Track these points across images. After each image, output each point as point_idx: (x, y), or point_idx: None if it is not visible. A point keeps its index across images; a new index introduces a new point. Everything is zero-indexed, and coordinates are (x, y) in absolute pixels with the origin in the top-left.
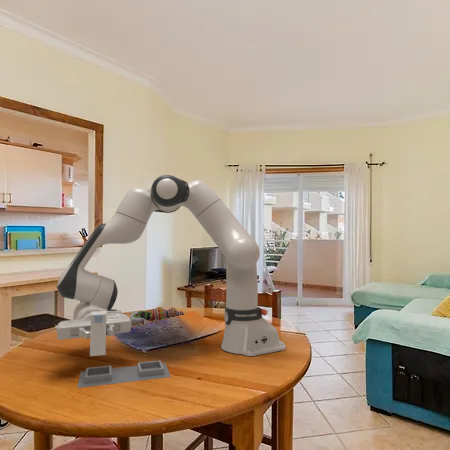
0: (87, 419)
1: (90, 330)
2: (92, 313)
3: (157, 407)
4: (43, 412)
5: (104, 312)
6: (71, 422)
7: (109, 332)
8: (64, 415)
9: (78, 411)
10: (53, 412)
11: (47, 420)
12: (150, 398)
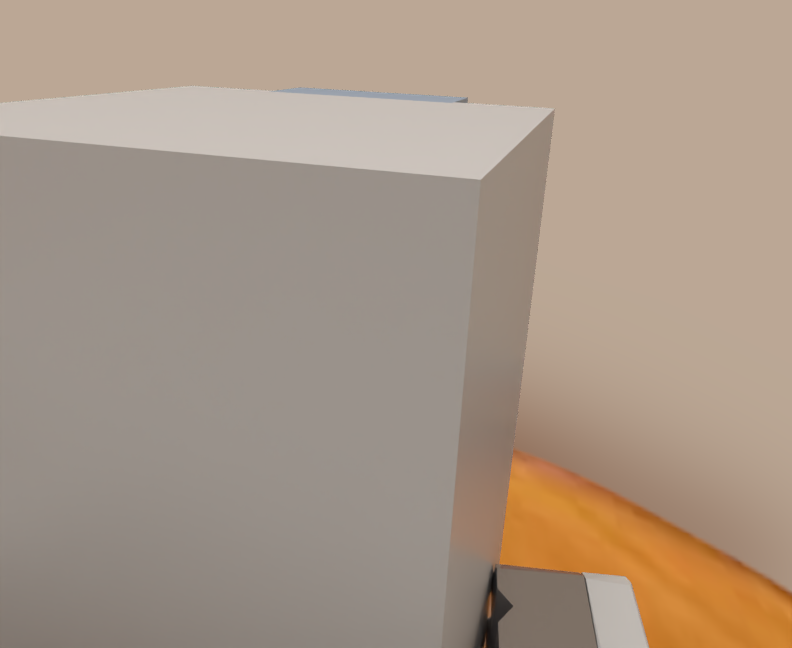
0: (527, 485)
1: (510, 462)
2: (488, 121)
3: None
4: (784, 645)
5: (94, 104)
6: (598, 496)
7: None
8: (641, 558)
9: (568, 558)
10: (715, 615)
11: (724, 557)
12: None
